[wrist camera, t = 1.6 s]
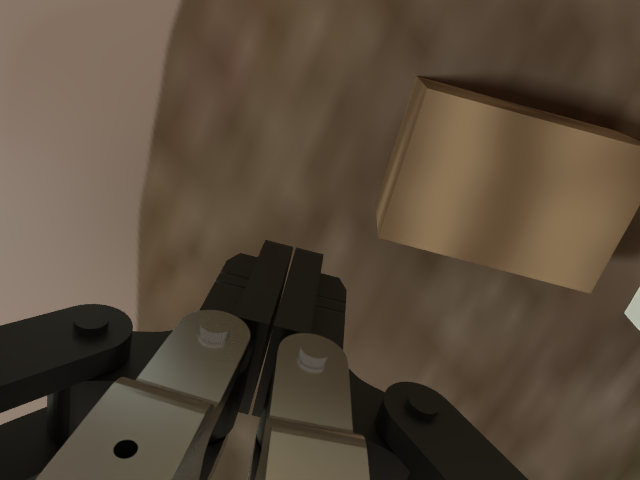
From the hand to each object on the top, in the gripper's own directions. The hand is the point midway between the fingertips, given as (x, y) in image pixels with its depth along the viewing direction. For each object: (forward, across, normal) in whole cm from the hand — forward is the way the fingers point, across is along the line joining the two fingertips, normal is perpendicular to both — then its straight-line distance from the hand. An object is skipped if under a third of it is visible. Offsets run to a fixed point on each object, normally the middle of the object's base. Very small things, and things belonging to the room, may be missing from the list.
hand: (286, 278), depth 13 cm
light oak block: (+19, -10, 0) cm, 22 cm away
